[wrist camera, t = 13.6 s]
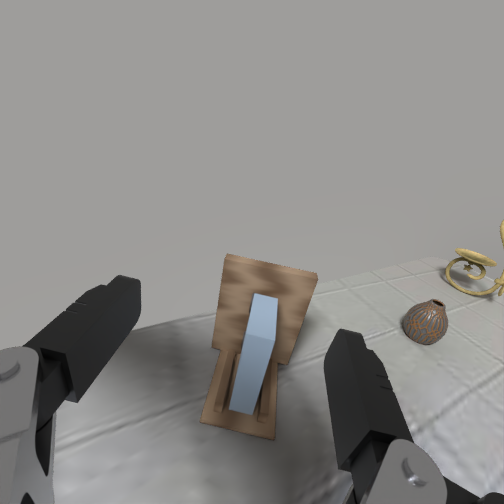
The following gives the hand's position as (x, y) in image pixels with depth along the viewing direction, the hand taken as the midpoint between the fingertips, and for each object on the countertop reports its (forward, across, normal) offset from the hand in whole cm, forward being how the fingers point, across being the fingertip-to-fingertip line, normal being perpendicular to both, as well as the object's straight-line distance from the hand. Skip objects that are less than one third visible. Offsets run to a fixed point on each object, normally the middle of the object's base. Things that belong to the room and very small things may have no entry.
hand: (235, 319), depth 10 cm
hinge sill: (+14, -3, +26) cm, 29 cm away
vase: (+34, -36, +26) cm, 56 cm away
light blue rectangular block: (+14, -3, +25) cm, 29 cm away
